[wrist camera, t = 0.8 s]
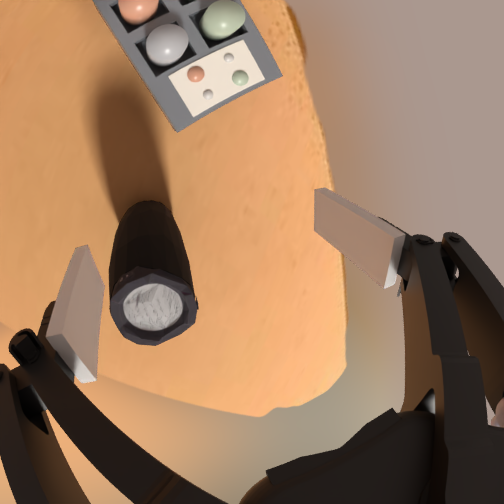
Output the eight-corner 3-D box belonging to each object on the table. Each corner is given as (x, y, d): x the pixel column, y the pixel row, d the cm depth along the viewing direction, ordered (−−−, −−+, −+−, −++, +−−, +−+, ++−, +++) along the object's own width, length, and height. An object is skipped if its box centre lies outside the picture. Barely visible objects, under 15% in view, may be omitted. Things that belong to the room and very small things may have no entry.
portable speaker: (141, 263, 40) (147, 363, 24) (106, 215, 35) (80, 302, 19) (188, 234, 41) (221, 323, 25) (156, 182, 36) (164, 248, 20)
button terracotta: (115, 8, 20) (111, -5, 16) (148, -9, 20) (149, -23, 16) (130, 31, 22) (128, 20, 18) (163, 14, 22) (166, 1, 18)
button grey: (140, 46, 24) (139, 37, 20) (173, 28, 24) (176, 17, 20) (157, 73, 26) (158, 67, 22) (189, 55, 26) (195, 47, 23)
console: (97, 10, 20) (91, -2, 16) (198, -36, 21) (205, -51, 17) (174, 130, 33) (177, 132, 29) (268, 78, 34) (284, 75, 30)
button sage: (192, 19, 24) (198, 7, 20) (224, 7, 24) (234, -5, 20) (208, 46, 26) (217, 37, 23) (239, 32, 26) (252, 23, 23)
